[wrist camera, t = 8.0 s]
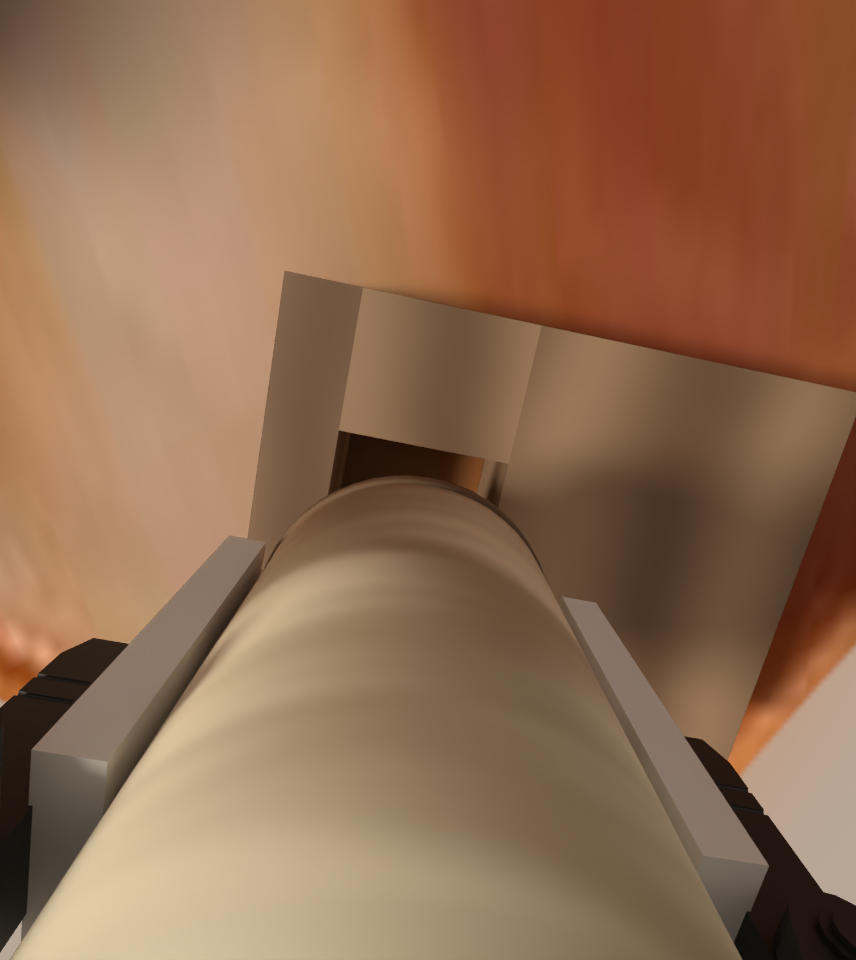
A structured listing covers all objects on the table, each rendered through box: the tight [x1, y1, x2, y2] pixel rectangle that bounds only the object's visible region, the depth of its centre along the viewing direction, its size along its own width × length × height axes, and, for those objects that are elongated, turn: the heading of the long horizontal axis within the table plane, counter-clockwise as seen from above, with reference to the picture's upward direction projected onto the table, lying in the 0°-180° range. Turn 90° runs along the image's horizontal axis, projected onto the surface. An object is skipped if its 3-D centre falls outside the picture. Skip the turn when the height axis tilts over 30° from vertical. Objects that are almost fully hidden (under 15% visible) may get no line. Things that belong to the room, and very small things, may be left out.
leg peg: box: [10, 475, 742, 960], centre depth 11 cm, size 6×6×14 cm
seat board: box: [248, 271, 856, 760], centre depth 22 cm, size 18×14×5 cm
